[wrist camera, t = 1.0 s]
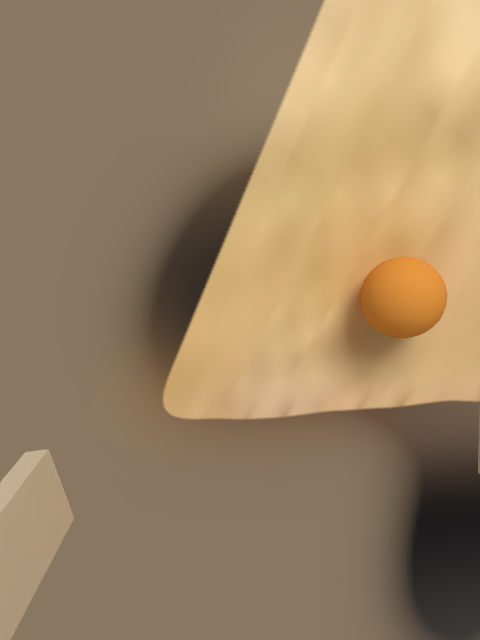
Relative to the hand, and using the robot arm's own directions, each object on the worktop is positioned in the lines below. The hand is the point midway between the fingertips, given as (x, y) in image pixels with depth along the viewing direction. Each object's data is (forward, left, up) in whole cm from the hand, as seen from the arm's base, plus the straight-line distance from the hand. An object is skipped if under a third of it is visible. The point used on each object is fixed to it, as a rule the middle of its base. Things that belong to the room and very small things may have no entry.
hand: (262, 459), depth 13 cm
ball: (-9, -4, -17) cm, 19 cm away
